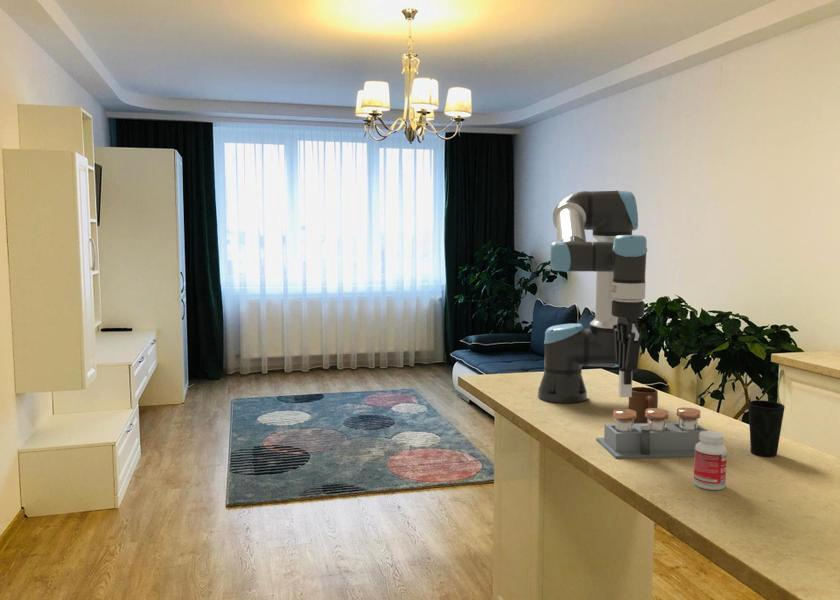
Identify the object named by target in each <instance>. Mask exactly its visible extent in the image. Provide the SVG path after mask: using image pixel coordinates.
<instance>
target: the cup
mask: <svg viewBox="0 0 840 600" xmlns="http://www.w3.org/2000/svg"><path fill="white" fill-rule="evenodd" d="M747 405H748V421H749V423H748V425H749V438H750V439H749V442H750V443H749V444H750V445H749V446H750V453H751V454H752V455H754V456H757V457H762V458H775V456H776V457H777V455H778V450H779V443H780V437H781V431H782V425H783V419H784V411H785V405H784V404H782V403H781V402H776V401H770V400H762V399H761V400H751V401H748V404H747Z"/></svg>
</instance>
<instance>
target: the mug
mask: <svg viewBox="0 0 840 600" xmlns="http://www.w3.org/2000/svg"><path fill="white" fill-rule="evenodd" d="M658 393H659V391H658V390H657V389H655V388H653V387H648V386H647V387H645V386H635V387H634V386H632V397H628V408H627V409H630V410H634V411H636V419H635V420H634V422H633V424H638V423H647V417H645V410H646V409H648V408H658V406H659V404H658V403H659V396H658V395H659V394H658Z"/></svg>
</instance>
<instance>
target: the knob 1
mask: <svg viewBox="0 0 840 600" xmlns="http://www.w3.org/2000/svg"><path fill="white" fill-rule="evenodd" d="M612 412H613V413H612V418H613V419H615V423H614V424H615V430H616V431H617V432H633V422H634V420H635V419H636V411H634V410H630V409H628V408H615V409H613V411H612Z"/></svg>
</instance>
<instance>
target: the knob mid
mask: <svg viewBox="0 0 840 600" xmlns="http://www.w3.org/2000/svg"><path fill="white" fill-rule="evenodd" d="M669 413H670V412H669V411H668V410H667V409H663V408H648V409H646V410H645V417H647V424H649V425H652V430H650V431H665V425H666V423H667V420H668V419H669Z"/></svg>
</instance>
